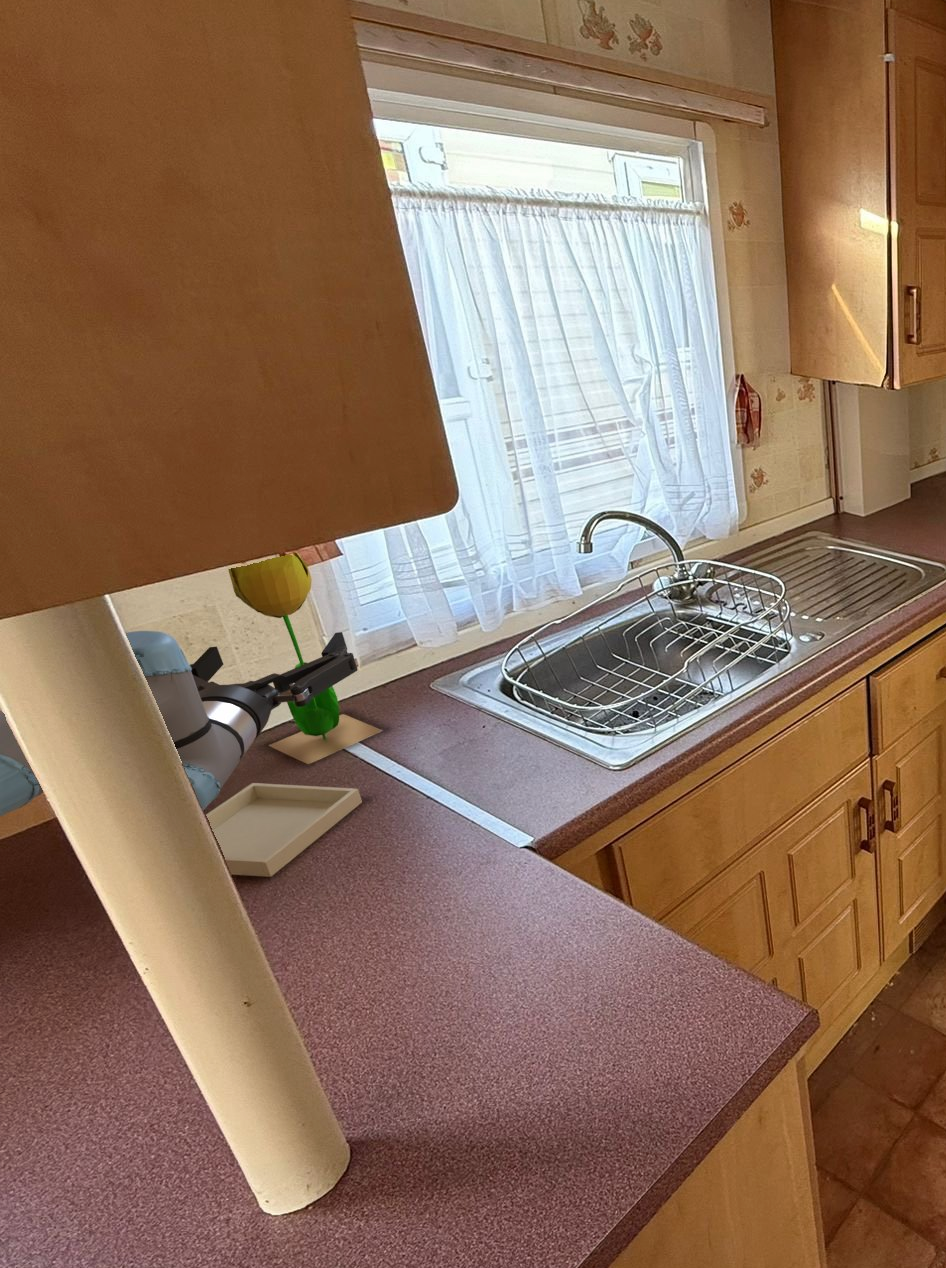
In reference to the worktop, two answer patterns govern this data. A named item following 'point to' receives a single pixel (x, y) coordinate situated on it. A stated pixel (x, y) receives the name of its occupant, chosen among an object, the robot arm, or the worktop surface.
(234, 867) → the baking tray
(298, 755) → the cork mat
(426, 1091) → the worktop surface
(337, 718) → the flower
